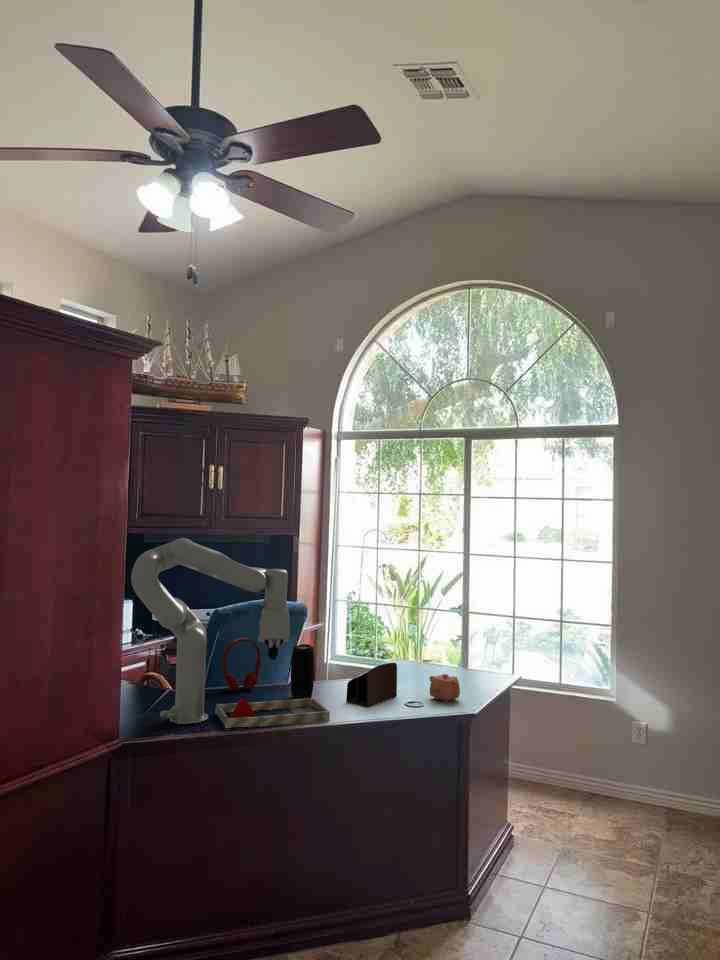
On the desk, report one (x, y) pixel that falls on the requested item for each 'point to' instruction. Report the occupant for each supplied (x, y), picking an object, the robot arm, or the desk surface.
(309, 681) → the portable speaker
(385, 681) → the letter holder
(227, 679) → the headphones
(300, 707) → the shallow open box tray
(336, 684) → the desk surface
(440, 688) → the teapot
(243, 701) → the gemstone
